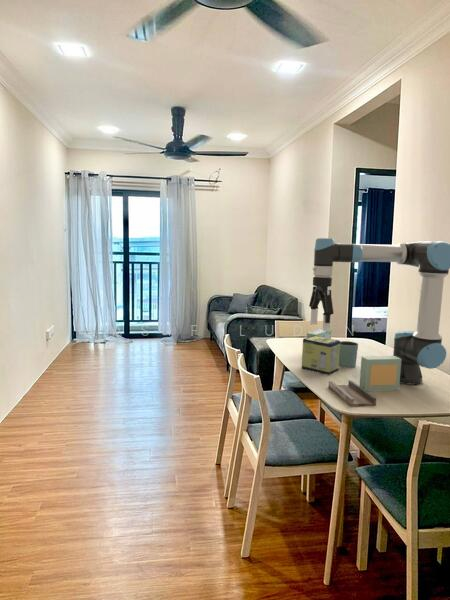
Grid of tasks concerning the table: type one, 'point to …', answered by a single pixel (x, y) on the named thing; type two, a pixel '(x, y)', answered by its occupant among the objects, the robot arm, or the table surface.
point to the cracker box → (380, 373)
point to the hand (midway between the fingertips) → (319, 327)
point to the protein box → (320, 355)
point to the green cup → (348, 354)
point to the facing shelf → (353, 394)
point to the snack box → (320, 333)
